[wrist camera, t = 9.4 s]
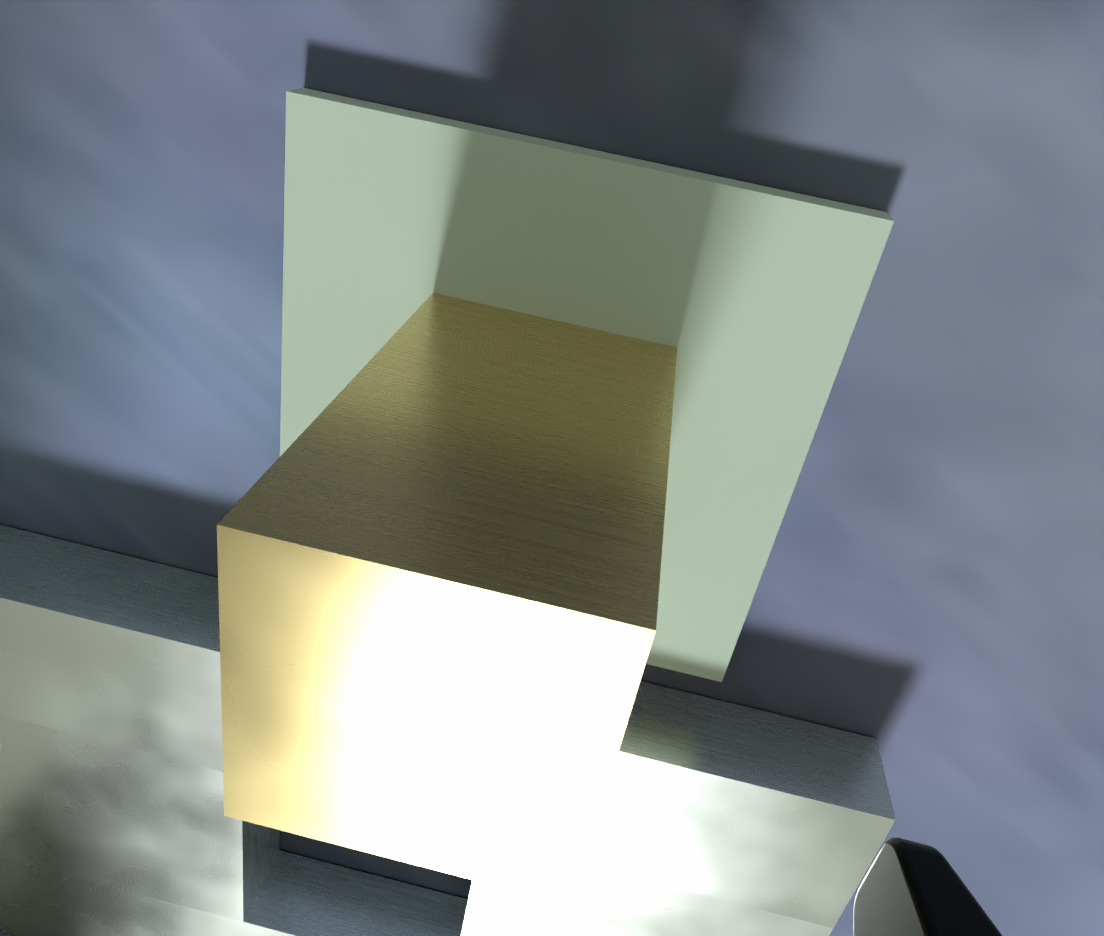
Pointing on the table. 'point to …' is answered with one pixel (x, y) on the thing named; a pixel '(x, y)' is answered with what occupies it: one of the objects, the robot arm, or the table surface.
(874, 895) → the robot arm
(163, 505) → the table surface
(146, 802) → the aluminium plate
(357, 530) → the brass peg
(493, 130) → the sage mat
